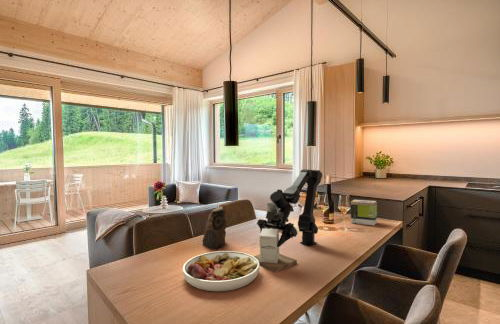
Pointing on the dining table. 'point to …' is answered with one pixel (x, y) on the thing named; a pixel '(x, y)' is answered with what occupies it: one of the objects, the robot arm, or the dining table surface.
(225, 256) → the bowl
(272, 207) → the milk frother
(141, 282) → the dining table surface
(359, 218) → the tea box
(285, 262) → the walnut board
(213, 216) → the owl
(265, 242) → the supplement box
